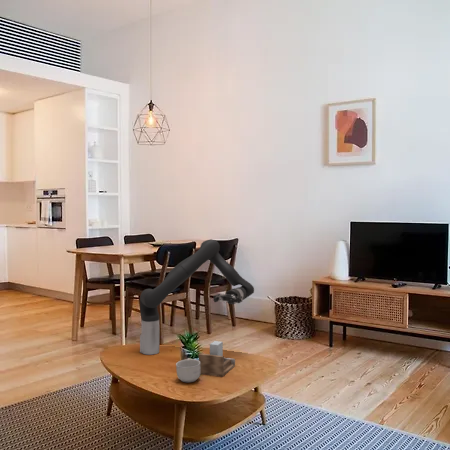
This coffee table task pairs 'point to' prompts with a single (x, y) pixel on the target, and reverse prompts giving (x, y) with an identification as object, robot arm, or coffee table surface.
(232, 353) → the coffee table surface
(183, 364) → the teacup
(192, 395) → the coffee table surface
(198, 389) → the coffee table surface
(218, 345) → the tall grey pillar
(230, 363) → the track block
